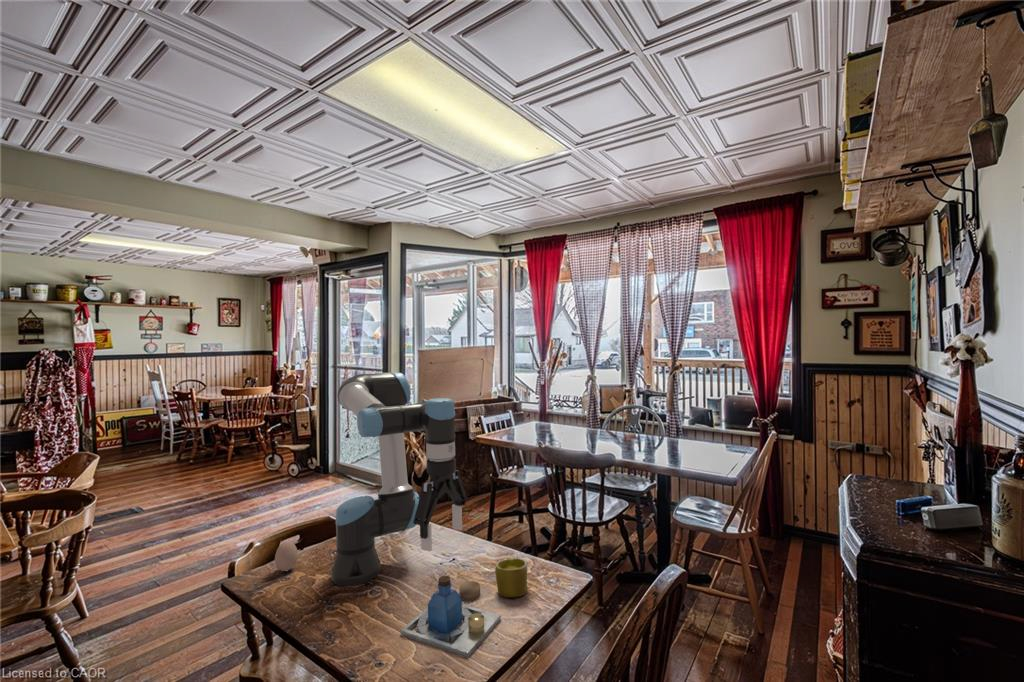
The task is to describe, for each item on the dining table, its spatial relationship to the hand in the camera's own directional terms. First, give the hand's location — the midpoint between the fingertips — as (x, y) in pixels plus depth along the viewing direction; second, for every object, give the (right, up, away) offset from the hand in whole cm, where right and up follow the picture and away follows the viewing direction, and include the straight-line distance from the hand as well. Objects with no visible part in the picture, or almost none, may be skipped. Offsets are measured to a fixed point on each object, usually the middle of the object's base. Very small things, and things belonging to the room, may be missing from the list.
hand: (442, 539), depth 116 cm
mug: (+18, -22, +16) cm, 33 cm away
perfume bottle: (+1, -22, -1) cm, 22 cm away
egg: (-56, -24, +30) cm, 68 cm away
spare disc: (+6, -22, +13) cm, 26 cm away
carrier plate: (+3, -22, -2) cm, 22 cm away
